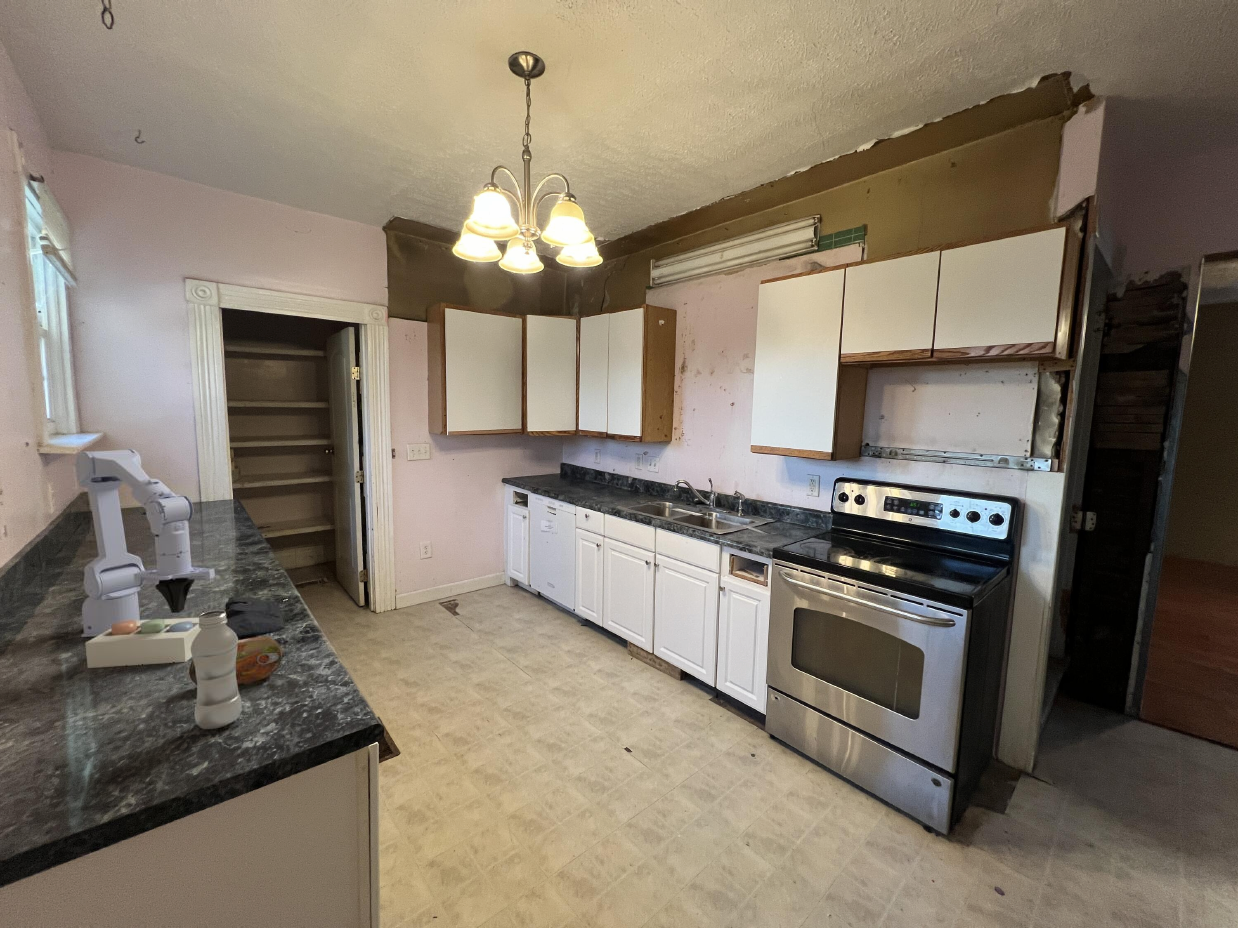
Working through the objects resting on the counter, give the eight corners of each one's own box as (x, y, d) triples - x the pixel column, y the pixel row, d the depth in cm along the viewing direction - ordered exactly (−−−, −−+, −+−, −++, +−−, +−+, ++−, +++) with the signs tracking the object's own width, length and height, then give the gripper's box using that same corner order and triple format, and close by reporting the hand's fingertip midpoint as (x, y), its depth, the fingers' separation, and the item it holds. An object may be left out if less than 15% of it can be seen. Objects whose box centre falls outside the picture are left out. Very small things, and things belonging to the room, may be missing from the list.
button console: (87, 667, 109) (85, 642, 109) (126, 644, 120) (124, 621, 119) (185, 661, 113) (183, 637, 112) (214, 639, 123) (213, 616, 123)
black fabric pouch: (210, 648, 120) (208, 628, 119) (208, 616, 137) (207, 599, 136) (288, 631, 129) (287, 612, 129) (277, 603, 146) (276, 587, 146)
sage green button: (136, 639, 113) (135, 626, 113) (149, 631, 117) (148, 619, 117) (157, 638, 114) (156, 625, 114) (169, 630, 118) (168, 618, 118)
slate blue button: (166, 641, 115) (165, 629, 114) (177, 633, 118) (176, 621, 118) (186, 640, 115) (185, 628, 115) (197, 632, 119) (196, 620, 119)
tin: (190, 693, 101) (186, 652, 100) (194, 685, 104) (191, 645, 103) (282, 676, 108) (280, 637, 107) (283, 669, 110) (281, 631, 109)
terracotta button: (107, 640, 112) (106, 628, 112) (121, 632, 116) (120, 620, 116) (128, 639, 113) (127, 627, 113) (141, 631, 117) (140, 619, 117)
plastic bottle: (211, 712, 95) (204, 606, 92) (251, 711, 95) (244, 606, 93) (185, 735, 88) (176, 622, 86) (228, 734, 89) (220, 621, 87)
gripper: (121, 558, 109) (127, 620, 111) (199, 555, 112) (204, 616, 114) (145, 548, 116) (149, 607, 118) (218, 546, 119) (222, 604, 120)
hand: (177, 611), depth 116 cm, fingers closed
